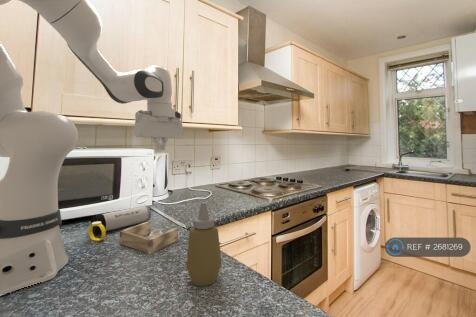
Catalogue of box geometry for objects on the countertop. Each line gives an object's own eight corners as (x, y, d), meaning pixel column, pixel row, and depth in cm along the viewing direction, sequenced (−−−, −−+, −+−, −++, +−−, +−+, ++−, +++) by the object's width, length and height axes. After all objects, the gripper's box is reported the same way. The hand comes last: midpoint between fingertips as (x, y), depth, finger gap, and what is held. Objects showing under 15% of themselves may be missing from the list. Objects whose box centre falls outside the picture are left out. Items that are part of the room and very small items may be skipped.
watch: (86, 241, 76) (85, 223, 75) (94, 238, 78) (92, 220, 78) (101, 242, 74) (99, 224, 74) (108, 239, 77) (106, 221, 76)
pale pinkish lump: (166, 237, 79) (152, 236, 79) (166, 228, 79) (151, 228, 79) (160, 243, 74) (145, 243, 74) (160, 234, 74) (145, 234, 74)
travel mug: (143, 220, 97) (89, 233, 82) (143, 204, 97) (88, 215, 82) (151, 222, 93) (95, 237, 78) (150, 206, 93) (94, 217, 78)
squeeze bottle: (201, 294, 49) (201, 210, 47) (179, 279, 54) (178, 203, 53) (228, 278, 55) (228, 202, 53) (206, 266, 60) (205, 197, 59)
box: (150, 254, 66) (149, 240, 66) (120, 243, 73) (119, 231, 73) (177, 240, 76) (177, 228, 76) (148, 232, 83) (148, 221, 83)
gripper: (141, 108, 76) (142, 150, 77) (185, 115, 94) (185, 149, 95) (129, 110, 79) (130, 150, 80) (173, 116, 97) (174, 149, 98)
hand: (160, 149), depth 88 cm, fingers closed
